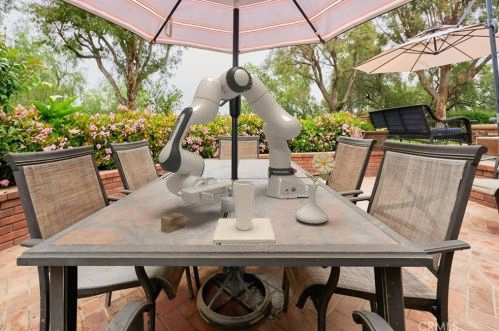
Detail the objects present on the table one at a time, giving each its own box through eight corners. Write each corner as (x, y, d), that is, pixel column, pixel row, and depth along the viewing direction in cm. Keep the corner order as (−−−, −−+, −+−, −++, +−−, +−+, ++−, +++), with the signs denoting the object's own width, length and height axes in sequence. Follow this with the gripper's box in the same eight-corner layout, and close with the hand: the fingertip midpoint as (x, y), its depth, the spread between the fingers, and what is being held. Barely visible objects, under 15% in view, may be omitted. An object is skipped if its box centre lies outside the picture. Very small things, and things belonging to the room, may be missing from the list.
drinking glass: (229, 227, 81) (228, 182, 79) (243, 222, 86) (244, 179, 84) (243, 233, 76) (243, 185, 74) (258, 227, 81) (259, 182, 79)
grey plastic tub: (235, 208, 106) (235, 196, 105) (235, 212, 100) (235, 200, 99) (221, 208, 106) (221, 196, 105) (220, 212, 100) (219, 200, 99)
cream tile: (269, 221, 90) (269, 218, 90) (275, 242, 72) (275, 239, 72) (219, 221, 90) (219, 218, 90) (212, 243, 72) (212, 239, 72)
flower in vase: (292, 223, 87) (294, 152, 84) (298, 214, 98) (300, 150, 95) (332, 229, 83) (335, 153, 80) (333, 218, 94) (336, 150, 90)
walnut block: (177, 225, 86) (176, 212, 86) (184, 228, 84) (183, 214, 83) (161, 230, 82) (160, 217, 81) (168, 233, 79) (167, 219, 79)
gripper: (173, 184, 85) (200, 190, 77) (217, 176, 101) (243, 181, 93) (174, 202, 86) (200, 210, 78) (217, 192, 102) (243, 197, 93)
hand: (224, 194), depth 85 cm, fingers open, 8 cm apart
